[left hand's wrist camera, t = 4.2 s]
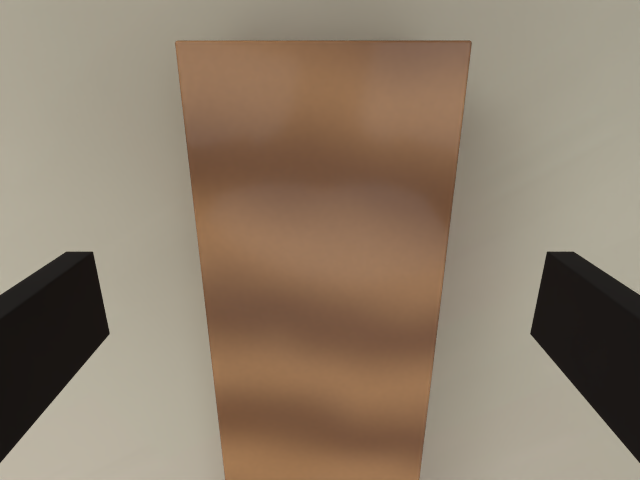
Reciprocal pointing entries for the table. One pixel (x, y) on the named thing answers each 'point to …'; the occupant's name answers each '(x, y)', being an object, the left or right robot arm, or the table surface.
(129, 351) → the table surface
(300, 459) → the wide beam
